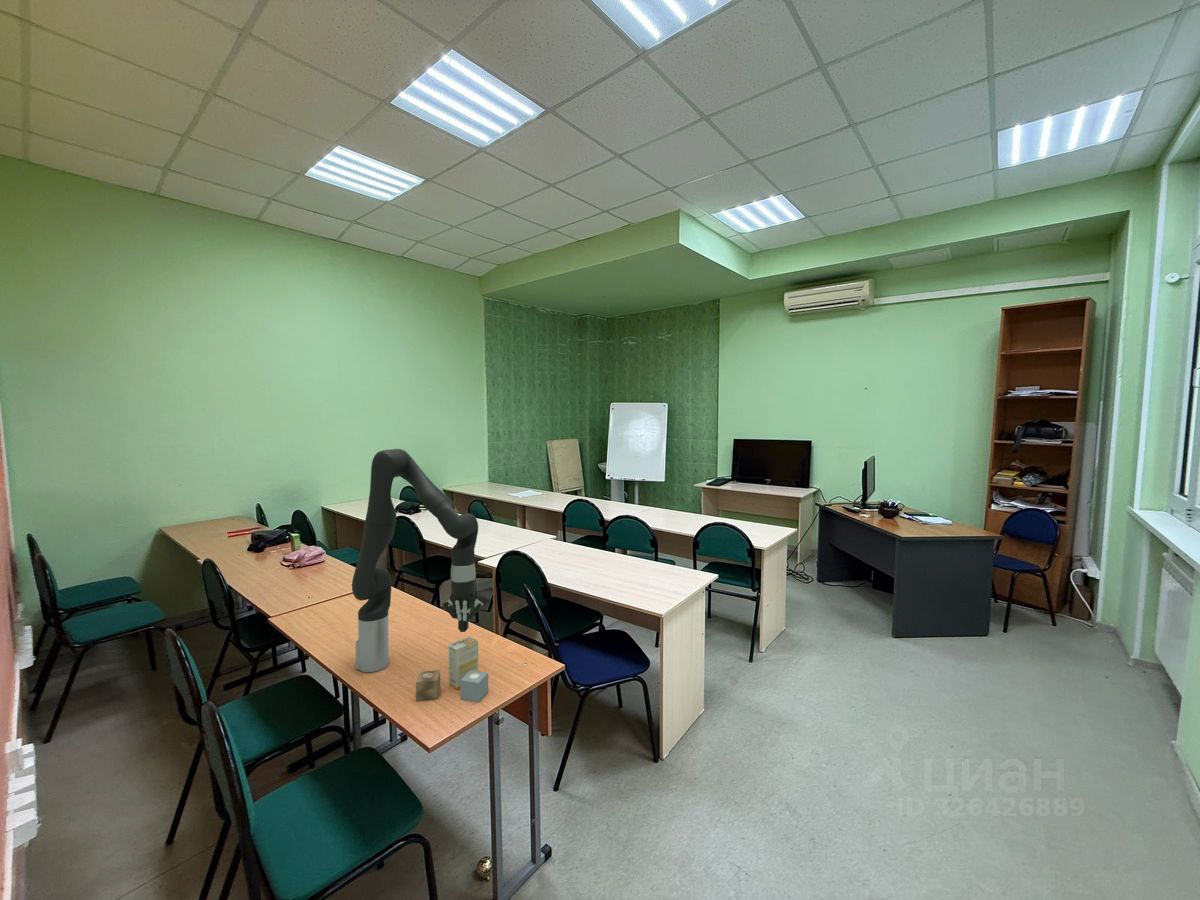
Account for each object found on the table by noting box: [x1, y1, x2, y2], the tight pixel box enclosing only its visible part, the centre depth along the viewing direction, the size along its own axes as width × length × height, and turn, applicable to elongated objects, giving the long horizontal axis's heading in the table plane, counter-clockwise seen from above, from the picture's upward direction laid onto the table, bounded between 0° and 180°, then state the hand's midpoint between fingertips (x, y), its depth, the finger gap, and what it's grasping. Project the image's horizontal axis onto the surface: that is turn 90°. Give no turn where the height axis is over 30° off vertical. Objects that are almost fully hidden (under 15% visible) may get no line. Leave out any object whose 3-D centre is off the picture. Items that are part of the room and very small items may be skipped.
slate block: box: [459, 670, 489, 703], centre depth 142 cm, size 6×6×6 cm
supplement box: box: [447, 635, 479, 690], centre depth 149 cm, size 8×5×13 cm, turn 141°
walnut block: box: [415, 669, 441, 702], centre depth 142 cm, size 6×6×6 cm
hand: (463, 631), depth 149 cm, fingers closed
